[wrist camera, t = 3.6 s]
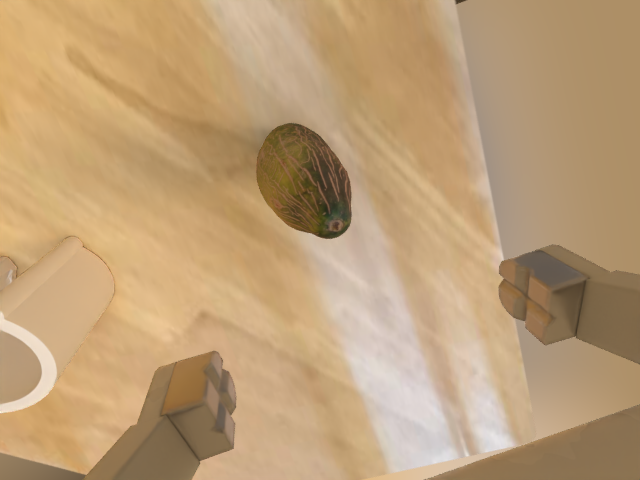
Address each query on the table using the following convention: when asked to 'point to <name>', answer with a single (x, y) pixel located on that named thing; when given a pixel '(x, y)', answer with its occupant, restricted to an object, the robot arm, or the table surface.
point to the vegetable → (304, 181)
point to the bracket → (47, 318)
